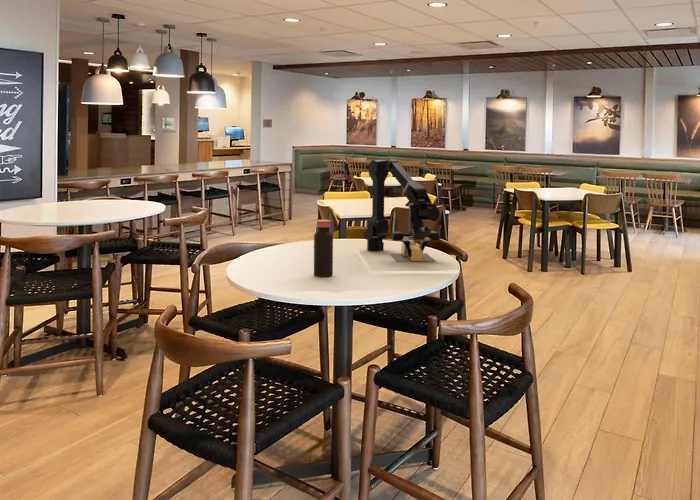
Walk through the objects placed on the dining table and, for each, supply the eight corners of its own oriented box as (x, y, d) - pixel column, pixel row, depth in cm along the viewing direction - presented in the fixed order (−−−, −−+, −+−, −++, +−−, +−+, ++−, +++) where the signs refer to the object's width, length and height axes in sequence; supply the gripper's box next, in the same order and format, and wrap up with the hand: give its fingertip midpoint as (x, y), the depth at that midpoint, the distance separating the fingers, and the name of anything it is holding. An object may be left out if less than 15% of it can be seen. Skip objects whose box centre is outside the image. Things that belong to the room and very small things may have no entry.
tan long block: (424, 260, 242) (425, 249, 241) (408, 261, 241) (409, 249, 241) (416, 253, 257) (416, 242, 256) (401, 253, 256) (401, 243, 256)
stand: (396, 265, 241) (397, 246, 239) (389, 256, 258) (389, 238, 257) (436, 264, 242) (437, 246, 241) (426, 255, 260) (426, 238, 259)
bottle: (325, 278, 217) (326, 222, 213) (310, 275, 221) (310, 220, 217) (336, 274, 223) (336, 220, 219) (320, 272, 226) (321, 218, 223)
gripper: (396, 221, 234) (395, 261, 237) (444, 221, 236) (442, 261, 239) (391, 217, 245) (390, 255, 248) (437, 217, 247) (435, 255, 250)
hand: (414, 257), depth 246 cm, fingers closed on tan long block, 4 cm apart
